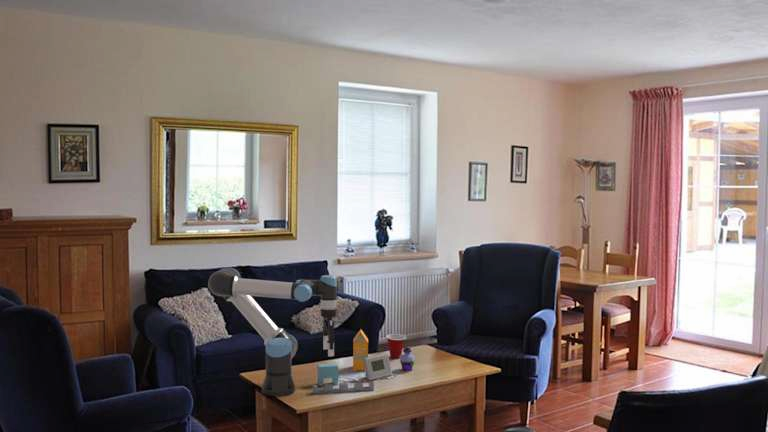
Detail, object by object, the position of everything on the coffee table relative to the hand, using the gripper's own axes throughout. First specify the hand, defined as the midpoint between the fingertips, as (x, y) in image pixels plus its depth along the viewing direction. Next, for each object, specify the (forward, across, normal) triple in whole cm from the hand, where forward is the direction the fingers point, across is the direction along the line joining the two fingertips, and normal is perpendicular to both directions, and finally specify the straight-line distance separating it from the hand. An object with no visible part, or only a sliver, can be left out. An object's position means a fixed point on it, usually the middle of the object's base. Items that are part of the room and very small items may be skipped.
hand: (328, 352), depth 321 cm
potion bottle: (+15, +16, -44) cm, 49 cm away
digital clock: (+15, +6, -26) cm, 31 cm away
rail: (+15, -13, -5) cm, 20 cm away
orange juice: (+15, +23, -21) cm, 35 cm away
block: (+15, 0, 0) cm, 15 cm away
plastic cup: (+15, +41, -45) cm, 63 cm away
